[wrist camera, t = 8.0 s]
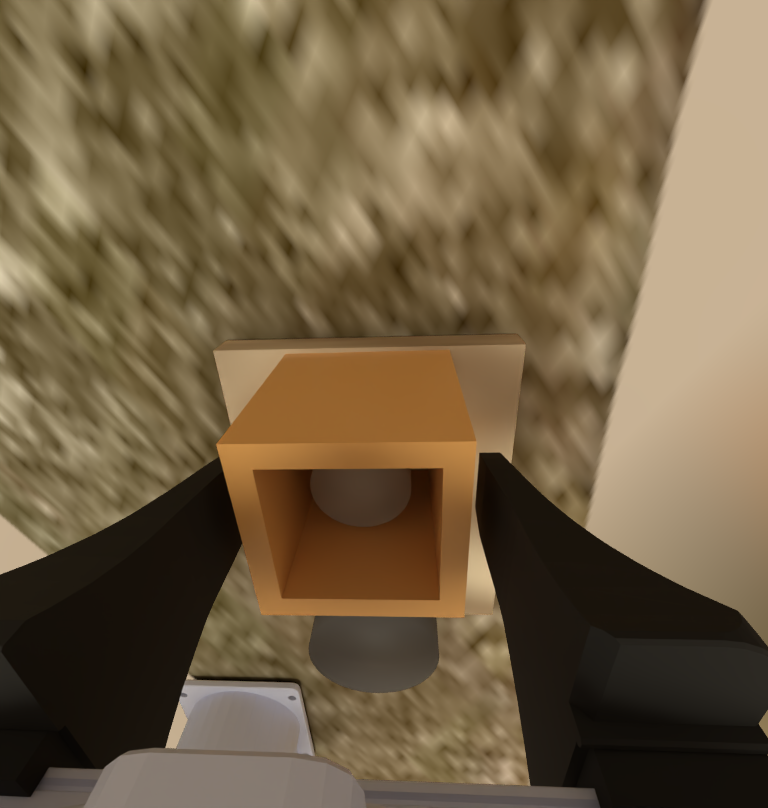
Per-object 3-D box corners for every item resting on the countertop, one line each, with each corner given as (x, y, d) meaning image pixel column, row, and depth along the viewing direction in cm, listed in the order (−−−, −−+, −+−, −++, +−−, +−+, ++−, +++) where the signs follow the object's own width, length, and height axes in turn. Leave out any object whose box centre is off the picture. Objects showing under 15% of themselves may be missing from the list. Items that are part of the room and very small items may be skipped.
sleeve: (449, 349, 14) (476, 441, 9) (445, 483, 17) (464, 617, 11) (285, 353, 15) (216, 444, 9) (306, 484, 17) (261, 614, 12)
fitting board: (488, 593, 21) (511, 703, 17) (280, 590, 22) (247, 695, 17) (517, 333, 15) (567, 394, 10) (226, 340, 16) (151, 400, 11)
